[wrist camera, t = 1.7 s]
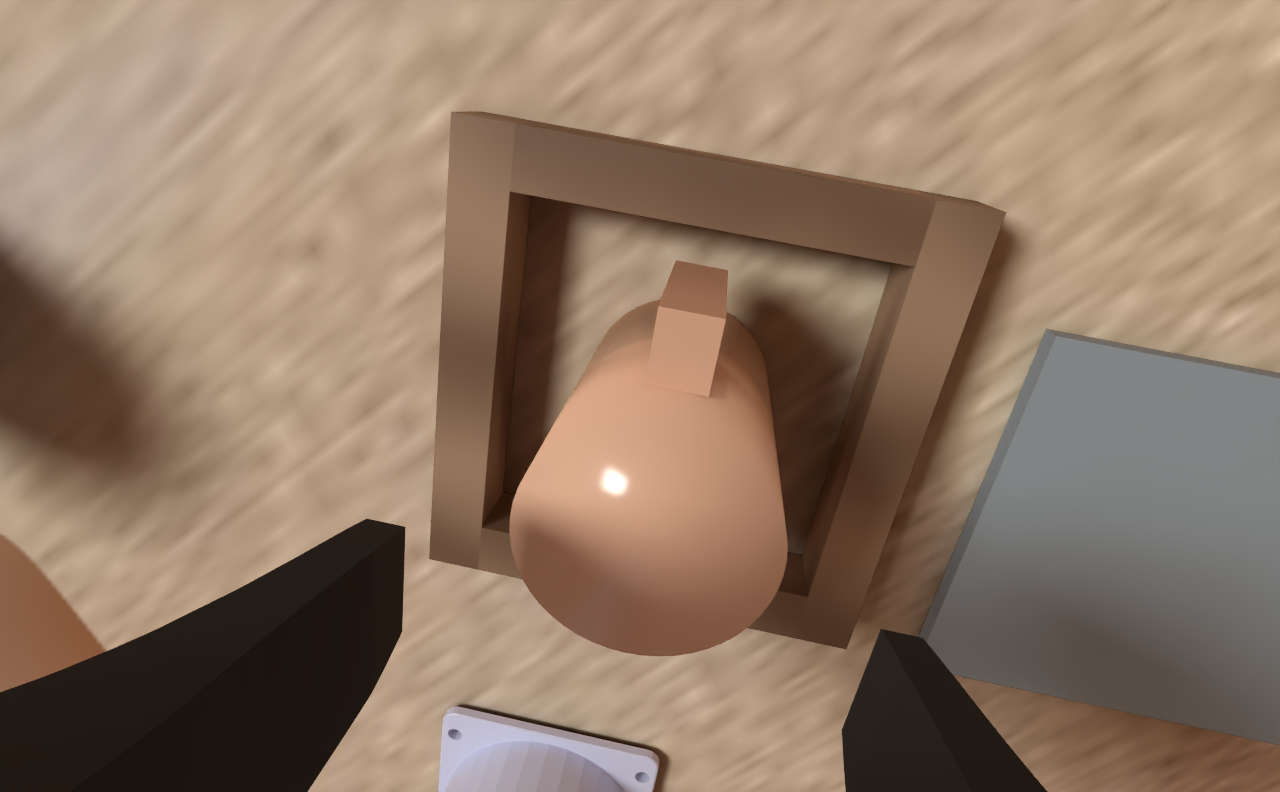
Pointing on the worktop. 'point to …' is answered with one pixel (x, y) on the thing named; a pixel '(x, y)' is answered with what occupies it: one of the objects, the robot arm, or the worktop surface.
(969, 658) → the mat
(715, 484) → the peach capsule with nub
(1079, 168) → the worktop surface
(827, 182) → the frame
